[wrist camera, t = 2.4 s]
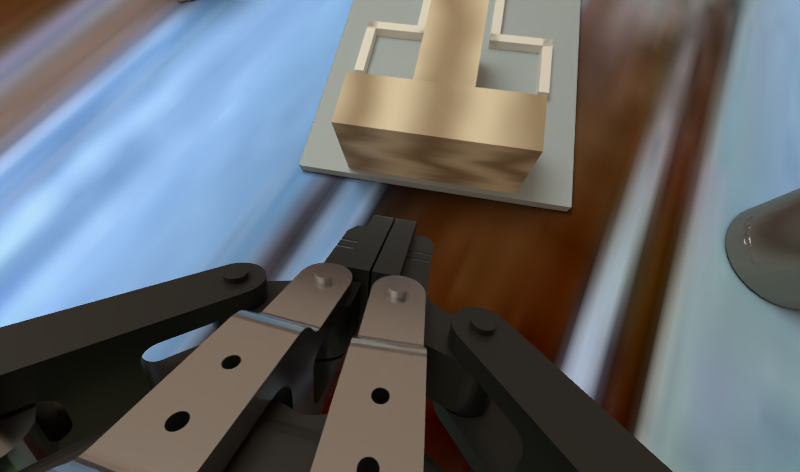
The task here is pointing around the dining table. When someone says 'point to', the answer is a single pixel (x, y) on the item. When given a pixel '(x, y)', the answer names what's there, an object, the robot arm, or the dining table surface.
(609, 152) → the dining table surface
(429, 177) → the t block
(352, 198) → the dining table surface
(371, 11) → the board
